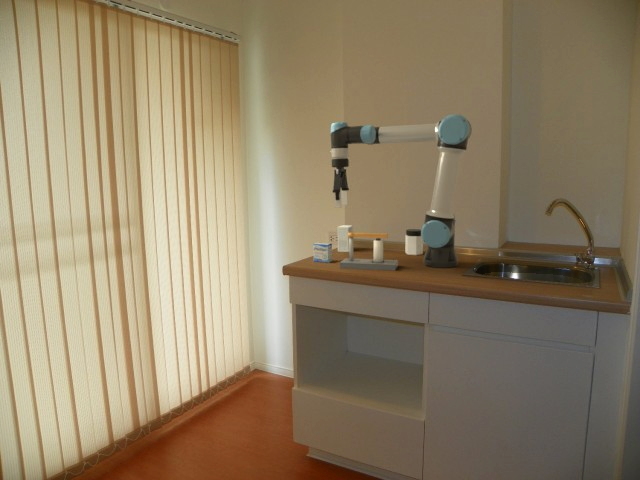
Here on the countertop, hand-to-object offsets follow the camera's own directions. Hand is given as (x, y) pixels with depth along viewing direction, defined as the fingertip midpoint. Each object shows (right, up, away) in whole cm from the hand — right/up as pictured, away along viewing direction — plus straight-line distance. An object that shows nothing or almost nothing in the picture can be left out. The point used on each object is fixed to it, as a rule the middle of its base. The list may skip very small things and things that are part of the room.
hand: (341, 206), depth 220 cm
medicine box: (-8, -26, +12) cm, 29 cm away
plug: (+16, -27, -5) cm, 32 cm away
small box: (+4, -21, +40) cm, 45 cm away
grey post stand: (+12, -28, -4) cm, 30 cm away
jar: (+38, -22, +28) cm, 52 cm away
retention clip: (+11, -14, -6) cm, 19 cm away
